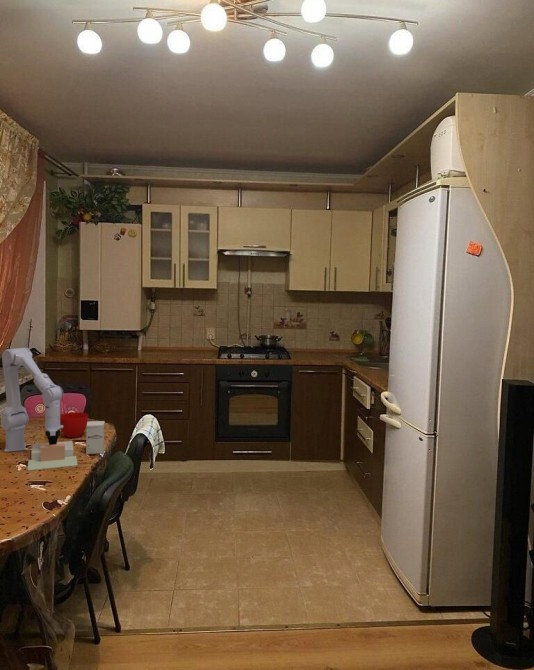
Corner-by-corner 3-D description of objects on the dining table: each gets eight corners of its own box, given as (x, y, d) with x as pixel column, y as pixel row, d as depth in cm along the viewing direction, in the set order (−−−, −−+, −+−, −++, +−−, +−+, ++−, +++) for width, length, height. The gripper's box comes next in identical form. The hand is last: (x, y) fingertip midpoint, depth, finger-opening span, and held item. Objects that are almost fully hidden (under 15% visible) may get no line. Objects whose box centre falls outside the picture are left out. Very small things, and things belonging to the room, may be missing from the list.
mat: (28, 461, 205) (28, 460, 205) (76, 456, 212) (76, 455, 212) (27, 470, 194) (27, 469, 194) (77, 465, 201) (77, 465, 201)
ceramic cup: (95, 431, 252) (95, 411, 251) (80, 440, 235) (80, 419, 234) (70, 429, 253) (70, 409, 252) (53, 439, 236) (53, 418, 236)
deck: (32, 450, 218) (32, 444, 218) (72, 447, 224) (72, 440, 224) (31, 460, 206) (31, 453, 206) (73, 456, 213) (73, 449, 212)
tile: (40, 445, 205) (40, 447, 203) (64, 443, 208) (64, 445, 206) (40, 459, 206) (40, 461, 204) (64, 457, 209) (64, 459, 208)
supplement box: (85, 454, 216) (85, 425, 215) (87, 449, 223) (87, 421, 222) (104, 453, 218) (104, 424, 217) (104, 448, 225) (104, 420, 224)
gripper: (63, 419, 205) (63, 452, 206) (62, 411, 218) (62, 442, 219) (44, 420, 202) (44, 454, 203) (44, 412, 215) (45, 444, 216)
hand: (52, 448), depth 211 cm, fingers closed
